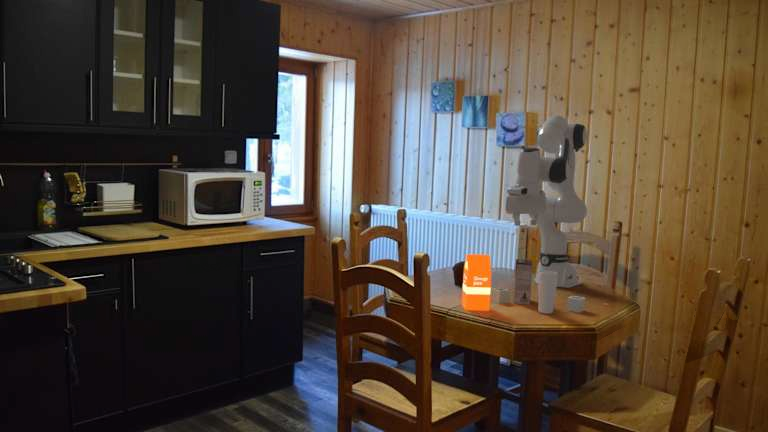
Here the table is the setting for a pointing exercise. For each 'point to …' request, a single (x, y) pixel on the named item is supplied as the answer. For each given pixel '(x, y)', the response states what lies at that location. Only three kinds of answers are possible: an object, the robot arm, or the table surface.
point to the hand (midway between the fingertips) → (525, 225)
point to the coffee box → (522, 281)
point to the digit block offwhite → (576, 304)
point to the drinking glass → (546, 291)
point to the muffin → (458, 273)
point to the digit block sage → (500, 295)
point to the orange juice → (476, 282)
